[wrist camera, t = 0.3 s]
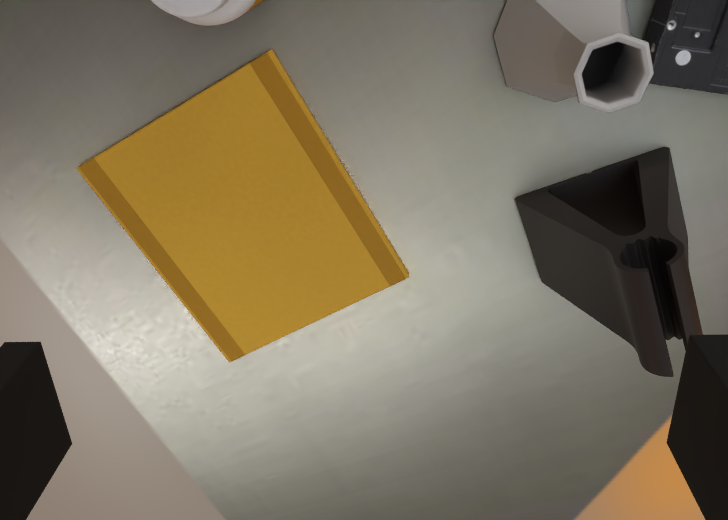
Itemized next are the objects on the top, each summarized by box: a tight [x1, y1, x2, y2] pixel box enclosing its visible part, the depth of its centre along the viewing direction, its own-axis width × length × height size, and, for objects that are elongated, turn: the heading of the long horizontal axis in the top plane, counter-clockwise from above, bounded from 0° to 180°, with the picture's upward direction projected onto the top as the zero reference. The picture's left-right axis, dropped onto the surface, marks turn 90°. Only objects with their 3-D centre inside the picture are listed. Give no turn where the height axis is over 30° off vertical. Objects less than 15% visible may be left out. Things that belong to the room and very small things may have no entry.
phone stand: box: [515, 147, 703, 377], centre depth 36 cm, size 9×6×12 cm, turn 111°
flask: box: [494, 0, 654, 113], centre depth 32 cm, size 7×7×10 cm
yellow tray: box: [77, 49, 409, 362], centre depth 42 cm, size 16×14×1 cm
